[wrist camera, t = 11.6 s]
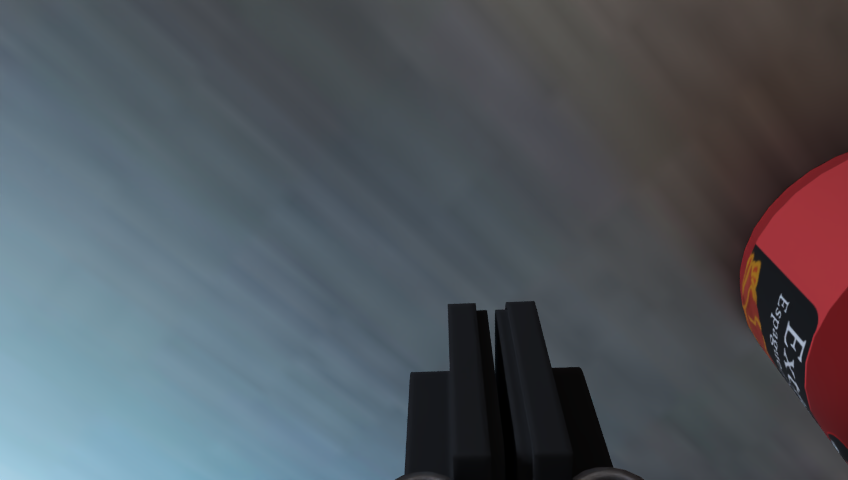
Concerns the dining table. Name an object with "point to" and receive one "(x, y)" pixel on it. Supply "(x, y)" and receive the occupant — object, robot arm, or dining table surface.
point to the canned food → (805, 292)
